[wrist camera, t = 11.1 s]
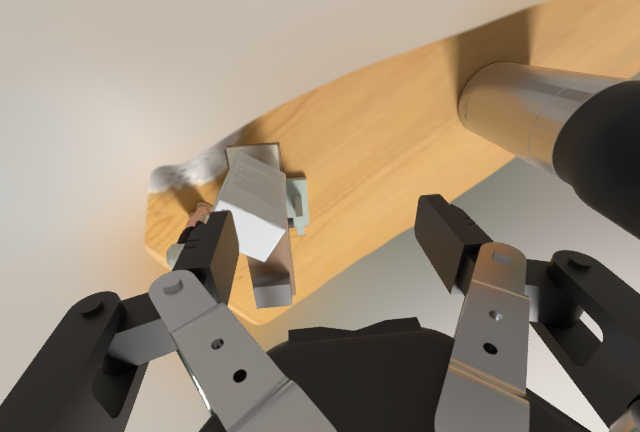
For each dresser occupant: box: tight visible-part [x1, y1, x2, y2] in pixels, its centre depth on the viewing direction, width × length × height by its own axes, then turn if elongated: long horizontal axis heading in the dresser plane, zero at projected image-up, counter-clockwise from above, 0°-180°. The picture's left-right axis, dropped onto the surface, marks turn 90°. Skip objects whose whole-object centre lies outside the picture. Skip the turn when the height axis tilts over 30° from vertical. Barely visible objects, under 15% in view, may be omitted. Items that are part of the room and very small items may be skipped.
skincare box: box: [211, 151, 286, 262], centre depth 30 cm, size 6×4×12 cm
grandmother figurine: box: [166, 202, 213, 269], centre depth 40 cm, size 8×4×13 cm, turn 147°
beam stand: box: [286, 177, 309, 235], centre depth 43 cm, size 12×8×7 cm, turn 92°
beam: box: [225, 142, 296, 309], centre depth 39 cm, size 7×23×5 cm, turn 2°
